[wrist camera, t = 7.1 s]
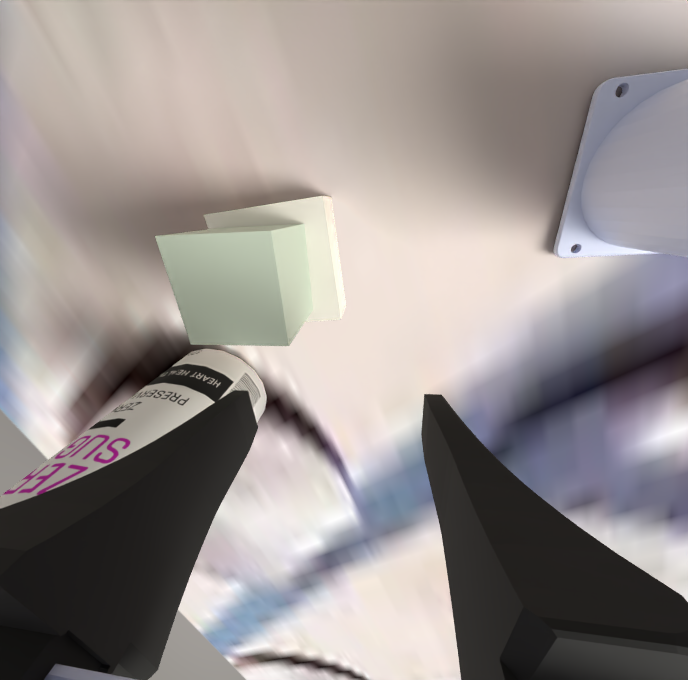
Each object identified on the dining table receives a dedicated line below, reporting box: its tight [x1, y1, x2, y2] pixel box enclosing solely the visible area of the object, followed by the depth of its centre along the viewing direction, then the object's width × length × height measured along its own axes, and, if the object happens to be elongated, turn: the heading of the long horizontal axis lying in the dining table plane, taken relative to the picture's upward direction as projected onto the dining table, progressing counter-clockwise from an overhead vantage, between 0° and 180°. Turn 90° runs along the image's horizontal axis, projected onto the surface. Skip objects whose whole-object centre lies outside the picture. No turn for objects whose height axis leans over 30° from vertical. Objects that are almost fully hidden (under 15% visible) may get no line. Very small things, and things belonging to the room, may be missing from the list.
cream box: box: [204, 196, 346, 322], centre depth 18 cm, size 7×7×3 cm
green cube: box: [155, 224, 313, 346], centre depth 14 cm, size 5×5×5 cm
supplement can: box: [0, 349, 267, 509], centre depth 17 cm, size 8×8×15 cm
